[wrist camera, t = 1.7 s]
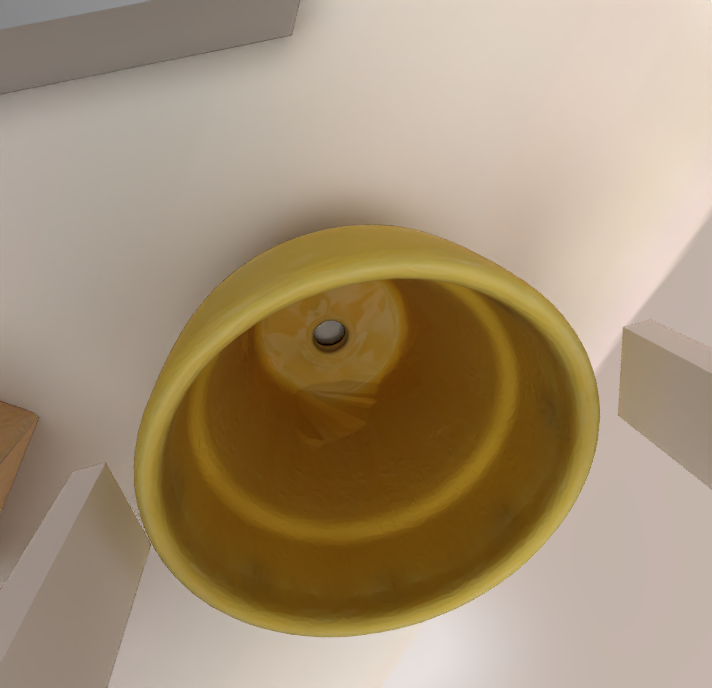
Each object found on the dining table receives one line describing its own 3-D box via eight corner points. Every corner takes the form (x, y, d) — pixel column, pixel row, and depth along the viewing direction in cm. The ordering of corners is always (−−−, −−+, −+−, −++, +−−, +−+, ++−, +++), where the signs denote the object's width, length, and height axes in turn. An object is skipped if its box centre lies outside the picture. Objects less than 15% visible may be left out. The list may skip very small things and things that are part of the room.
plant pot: (360, 464, 22) (424, 681, 13) (150, 368, 18) (40, 580, 9) (497, 286, 19) (691, 403, 11) (287, 131, 16) (316, 116, 7)
